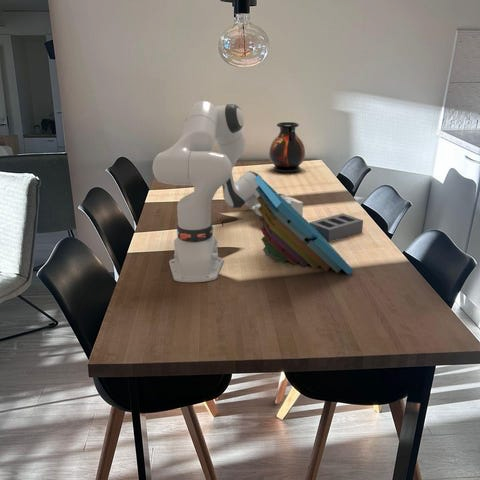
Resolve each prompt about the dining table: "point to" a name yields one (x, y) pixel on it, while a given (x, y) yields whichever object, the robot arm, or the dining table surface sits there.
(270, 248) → the stacked coloured sheets
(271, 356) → the dining table surface
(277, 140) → the black and orange vase
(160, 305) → the dining table surface
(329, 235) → the stand
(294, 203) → the white rectangular block
